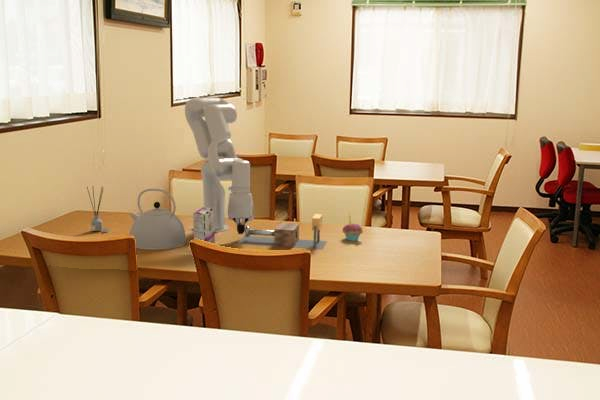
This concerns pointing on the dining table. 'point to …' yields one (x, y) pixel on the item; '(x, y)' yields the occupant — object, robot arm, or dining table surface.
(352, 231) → the cupcake
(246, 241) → the base mat
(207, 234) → the candy bar box
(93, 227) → the reed diffuser
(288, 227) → the hitch block
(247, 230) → the pin
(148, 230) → the kettle
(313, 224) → the beige small block
